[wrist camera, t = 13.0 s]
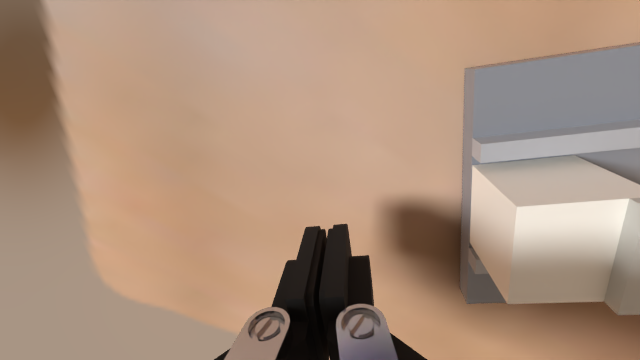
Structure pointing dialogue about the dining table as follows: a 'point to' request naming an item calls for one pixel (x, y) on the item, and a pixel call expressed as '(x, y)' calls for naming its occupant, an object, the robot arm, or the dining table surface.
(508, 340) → the dining table surface
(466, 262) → the base
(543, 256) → the cream square block
